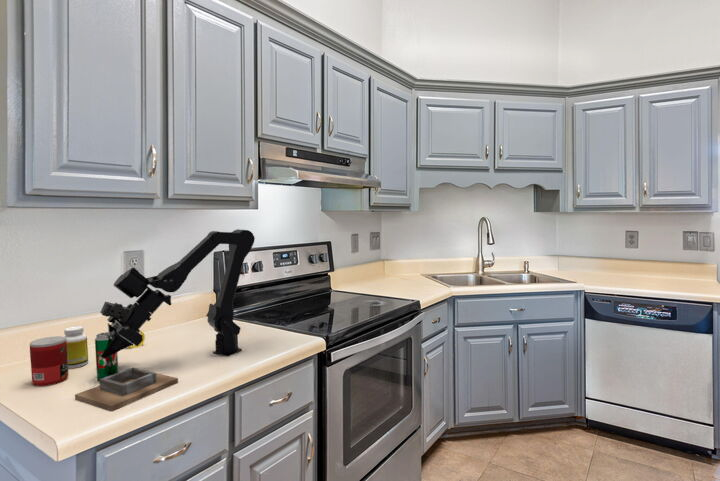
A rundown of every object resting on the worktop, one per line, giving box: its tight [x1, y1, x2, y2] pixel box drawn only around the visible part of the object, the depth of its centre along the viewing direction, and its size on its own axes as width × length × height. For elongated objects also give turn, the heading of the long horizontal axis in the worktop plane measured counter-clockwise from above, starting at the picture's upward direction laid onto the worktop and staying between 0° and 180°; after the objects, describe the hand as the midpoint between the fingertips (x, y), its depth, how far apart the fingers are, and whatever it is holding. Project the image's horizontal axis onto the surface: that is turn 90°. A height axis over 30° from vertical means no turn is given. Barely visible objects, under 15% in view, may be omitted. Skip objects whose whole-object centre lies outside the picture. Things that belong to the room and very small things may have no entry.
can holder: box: [74, 367, 179, 412], centre depth 110 cm, size 18×14×4 cm
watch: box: [128, 330, 146, 349], centre depth 145 cm, size 6×3×6 cm, turn 142°
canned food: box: [29, 335, 69, 387], centre depth 116 cm, size 8×8×11 cm
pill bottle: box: [63, 325, 89, 369], centre depth 128 cm, size 6×6×11 cm
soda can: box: [94, 331, 119, 380], centre depth 118 cm, size 5×5×12 cm
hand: (100, 355), depth 117 cm, fingers closed on soda can, 5 cm apart
